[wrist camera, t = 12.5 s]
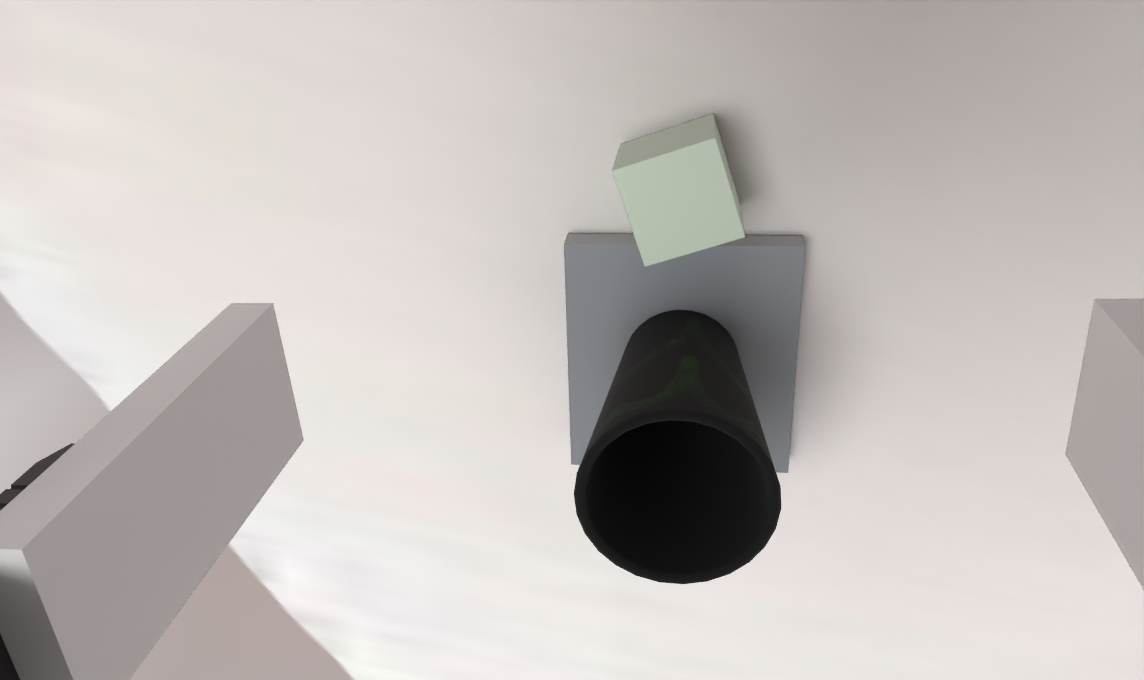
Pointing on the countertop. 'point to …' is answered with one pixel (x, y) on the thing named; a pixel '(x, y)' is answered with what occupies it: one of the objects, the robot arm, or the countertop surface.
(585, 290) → the plate
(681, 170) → the sage block
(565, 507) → the countertop surface
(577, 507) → the cup
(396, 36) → the countertop surface
